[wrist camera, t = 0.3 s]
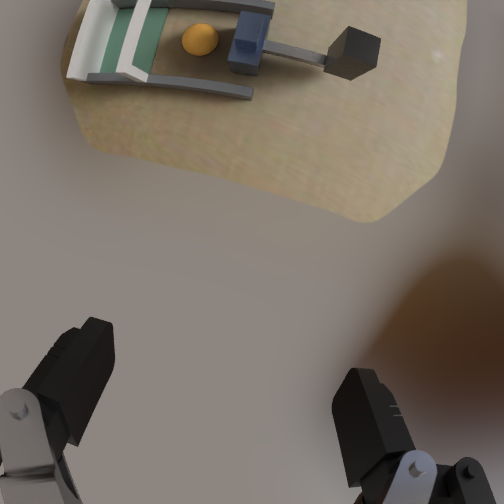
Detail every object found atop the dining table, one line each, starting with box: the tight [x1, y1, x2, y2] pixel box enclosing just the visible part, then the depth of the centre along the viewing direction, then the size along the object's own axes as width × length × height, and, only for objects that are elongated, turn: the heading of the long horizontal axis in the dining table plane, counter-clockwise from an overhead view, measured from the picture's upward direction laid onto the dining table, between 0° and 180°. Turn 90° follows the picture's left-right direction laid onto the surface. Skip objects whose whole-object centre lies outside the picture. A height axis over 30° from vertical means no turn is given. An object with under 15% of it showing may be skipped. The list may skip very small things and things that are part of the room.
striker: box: [227, 11, 381, 81], centre depth 24 cm, size 6×12×11 cm, turn 78°
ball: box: [182, 23, 218, 56], centre depth 26 cm, size 4×4×4 cm
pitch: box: [66, 0, 275, 100], centre depth 24 cm, size 12×20×9 cm, turn 78°
